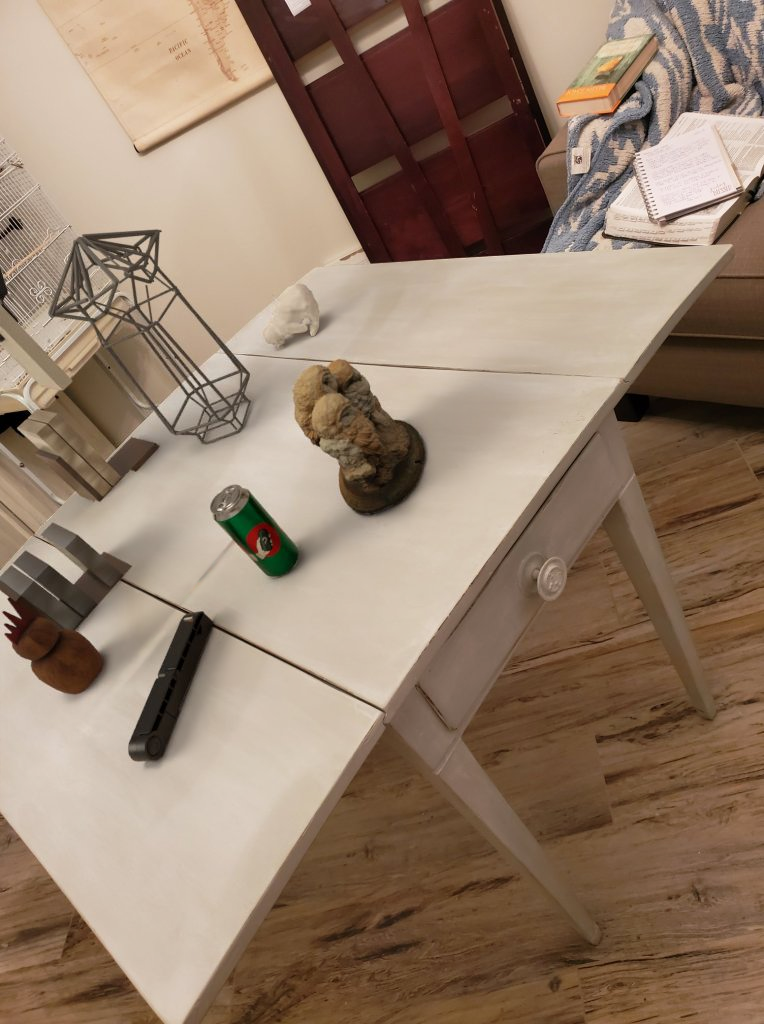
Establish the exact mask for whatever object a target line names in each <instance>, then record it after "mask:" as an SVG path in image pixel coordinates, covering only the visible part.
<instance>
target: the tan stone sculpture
mask: <svg viewBox="0 0 764 1024" xmlns="http://www.w3.org/2000/svg"><path fill="white" fill-rule="evenodd" d="M292 392H293V393H292V394H293V398H292V399H293V404H294V414H293V415H294V420H295V421H296V423H297V425H298V427H299V428H300V430H301V431H302V433H303V435H304V436H305V437H306V438H307V439H308V440H310V443H311V444H312V445H313V446H316V447H318V448H320V450H322V452H323V453H325V454H327V455H329V456H330V457H331V458H333V459H336V460H337V463H338V465H339V470H338V486H339V487H338V488H339V491H340V494H341V497H342V499H343V500H344V502H345V504H346V505H347V506H348V507H349V508H350V509H351V510H352V511H354V512H356V513H358V514H360V515H365V514H368V515H373V514H374V515H375V513H379V512H381V511H384V510H386V509H387V508H389V507H392V506H396V505H397V504H399V503H401V502H402V501H404V500H405V499H406V498H407V497H408V496H409V495H410V494H411V493H412V492H413V491H414V489H415V488H416V487H417V485H418V483H419V481H420V478H421V474H422V473H423V470H424V467H423V465H424V463H425V461H426V449H425V444H424V440H423V438H422V436H421V435H420V433H419V431H418V430H417V429H416V428H415V427H414V425H412V424H411V423H409V422H407V421H405V420H400V419H394V418H393V417H391V415H390V414H389V413H388V412H387V411H386V410H385V409H384V408H383V407H382V405H381V402H380V400H379V398H378V397H377V395H376V394H373V392H372V391H371V384H370V383H369V380H368V379H367V378H366V377H365V376H364V375H363V374H362V373H361V372H360V371H359V370H358V369H357V368H356V367H354V366H353V365H351V363H349V361H348V360H347V359H343V358H338V359H336V360H333V361H331V362H330V363H329V364H328V365H327V366H325V365H323V364H312V365H310V366H309V367H308V368H307V369H305V370H304V371H303V372H302V373H301V374H300V376H299V377H298V379H297V380H296V382H295V383H294V385H293V388H292ZM418 461H420V462H418ZM415 462H416V463H415ZM418 480H419V481H418ZM417 482H418V483H417ZM416 484H417V485H416ZM414 487H415V488H414ZM413 488H414V489H413ZM412 490H413V491H412ZM411 491H412V492H411ZM410 492H411V493H410ZM409 493H410V494H409ZM408 494H409V495H408ZM406 496H407V497H406ZM405 497H406V498H405ZM404 498H405V499H404ZM403 499H404V500H403Z"/></svg>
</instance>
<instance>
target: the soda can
mask: <svg viewBox="0 0 764 1024" xmlns="http://www.w3.org/2000/svg"><path fill="white" fill-rule="evenodd" d="M209 510H210V512H211V513H212V518H213V521H215V523H216V524H217V525H218V526H219V527H221V529H222V530H223V531H224V532H225V534H227V536H229V537H230V538H231V539H232V541H233V542H234V543H236V545H237V546H238V547H239V548H240V549H241V550H242V551H243V552H244V554H246V556H248V557H249V559H250V560H251V561H252V562H253V563H254V564H255V565H256V566H257V567H258V569H260V570H261V571H262V572H263V573H264V575H265V576H267V577H270V578H278V577H283V576H285V575H287V574H288V573H289V572H291V570H293V569H294V568H295V566H296V565H297V563H298V561H297V560H299V557H300V549H299V547H298V546H297V545H296V543H294V541H293V540H292V539H291V538H290V536H289V535H288V534H287V533H286V531H284V530H283V528H282V527H281V526H280V525H279V523H277V521H276V519H274V518H273V517H272V515H270V513H269V512H268V511H267V510H266V508H265V507H264V506H263V505H262V504H261V503H260V502H259V500H258V499H257V498H256V497H255V496H254V495H253V493H252V492H251V491H250V490H249V489H248V488H246V487H242V486H241V485H240V484H231V485H228V486H225V488H222V489H221V490H220V491H219V492H217V493H216V495H215V496H214V497H213V498H212V500H211V502H210V505H209ZM296 562H297V563H296ZM295 564H296V565H295ZM294 565H295V566H294ZM287 572H288V573H287ZM284 574H285V575H284ZM282 575H283V576H282Z"/></svg>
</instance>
